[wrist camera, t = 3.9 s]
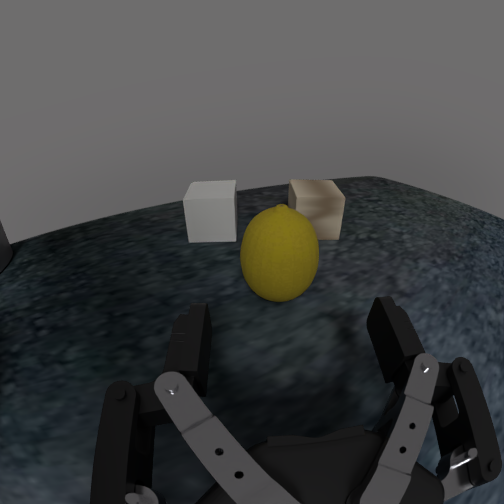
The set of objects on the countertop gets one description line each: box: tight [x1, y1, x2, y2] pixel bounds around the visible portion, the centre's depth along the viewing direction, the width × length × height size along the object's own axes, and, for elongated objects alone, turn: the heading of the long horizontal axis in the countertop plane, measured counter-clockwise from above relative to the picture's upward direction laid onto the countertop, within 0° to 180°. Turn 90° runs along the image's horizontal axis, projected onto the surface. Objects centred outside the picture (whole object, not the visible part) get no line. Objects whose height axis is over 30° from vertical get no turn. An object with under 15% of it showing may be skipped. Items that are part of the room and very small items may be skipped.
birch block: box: [288, 180, 345, 240], centre depth 30 cm, size 5×5×5 cm
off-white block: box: [183, 180, 237, 242], centre depth 29 cm, size 5×5×5 cm
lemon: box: [240, 204, 319, 302], centre depth 20 cm, size 6×6×8 cm
